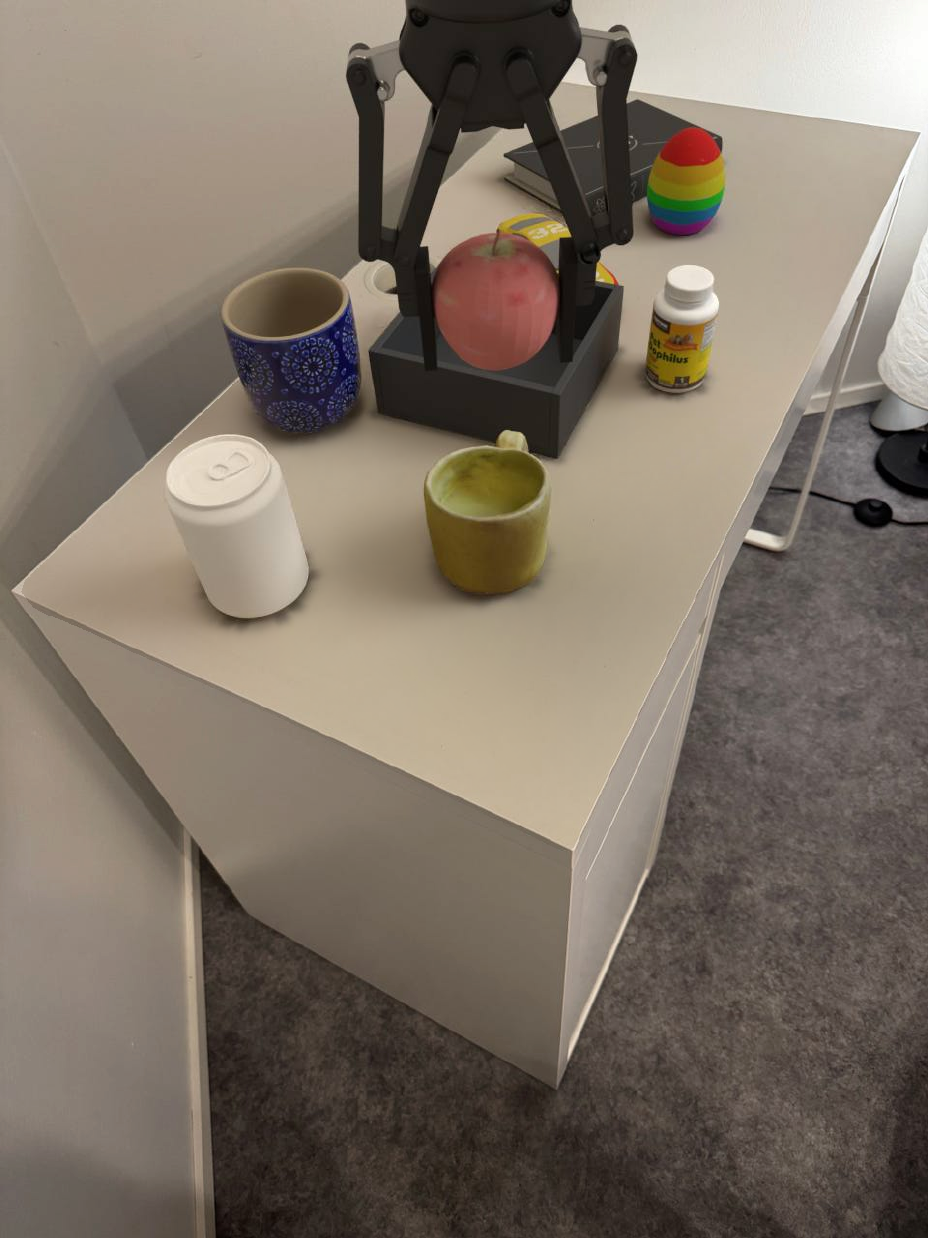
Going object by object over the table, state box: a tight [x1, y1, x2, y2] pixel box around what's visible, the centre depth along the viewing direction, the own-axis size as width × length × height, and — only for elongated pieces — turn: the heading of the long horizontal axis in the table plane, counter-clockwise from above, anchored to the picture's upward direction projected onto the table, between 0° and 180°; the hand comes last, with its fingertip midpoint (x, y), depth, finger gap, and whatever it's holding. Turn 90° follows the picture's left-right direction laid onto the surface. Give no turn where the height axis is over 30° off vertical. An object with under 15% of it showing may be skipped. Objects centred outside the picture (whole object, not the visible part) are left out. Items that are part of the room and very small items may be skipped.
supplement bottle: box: [644, 264, 720, 394], centre depth 80 cm, size 6×6×10 cm
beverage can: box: [164, 433, 310, 619], centre depth 66 cm, size 8×8×12 cm
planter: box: [220, 267, 363, 434], centre depth 79 cm, size 11×11×11 cm
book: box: [503, 98, 724, 216], centre depth 107 cm, size 22×15×3 cm
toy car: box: [495, 212, 620, 285], centre depth 92 cm, size 8×17×5 cm, turn 26°
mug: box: [423, 430, 552, 596], centre depth 69 cm, size 12×10×10 cm
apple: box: [432, 231, 561, 371], centre depth 52 cm, size 7×7×8 cm
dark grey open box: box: [367, 262, 625, 459], centre depth 82 cm, size 18×17×7 cm
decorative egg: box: [646, 127, 726, 236], centre depth 96 cm, size 8×8×10 cm
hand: (497, 352), depth 55 cm, fingers closed on apple, 7 cm apart
